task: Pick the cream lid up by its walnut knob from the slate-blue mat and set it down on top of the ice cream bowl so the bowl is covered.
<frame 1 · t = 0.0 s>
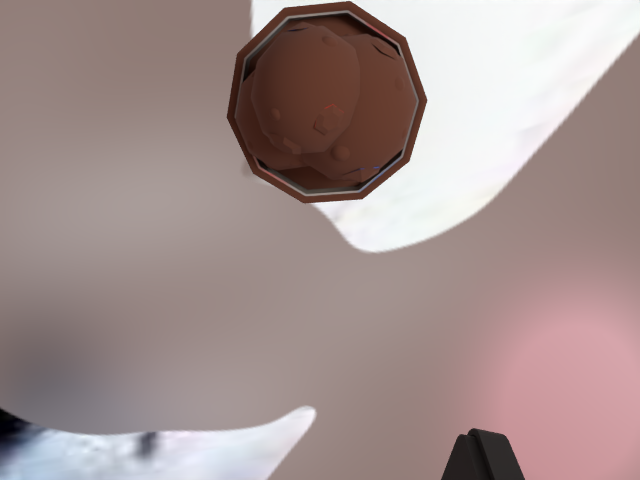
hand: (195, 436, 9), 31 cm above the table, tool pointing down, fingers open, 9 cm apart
ice cream bowl: (330, 96, 37), on the table
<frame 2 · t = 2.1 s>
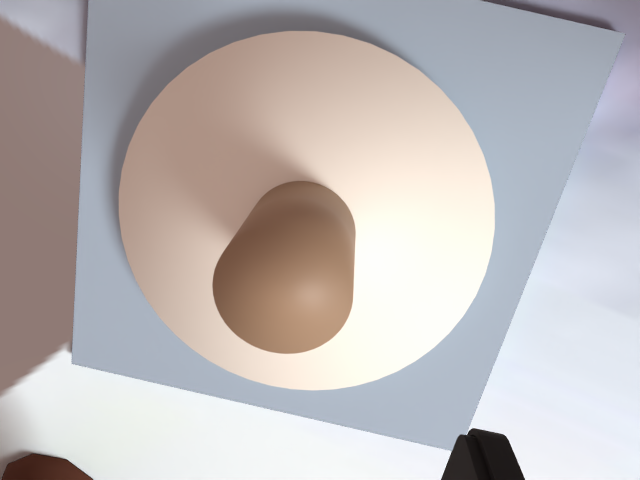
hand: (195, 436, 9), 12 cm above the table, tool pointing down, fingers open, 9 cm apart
lid: (304, 224, 20), resting on mat
mat: (306, 220, 20), on the table
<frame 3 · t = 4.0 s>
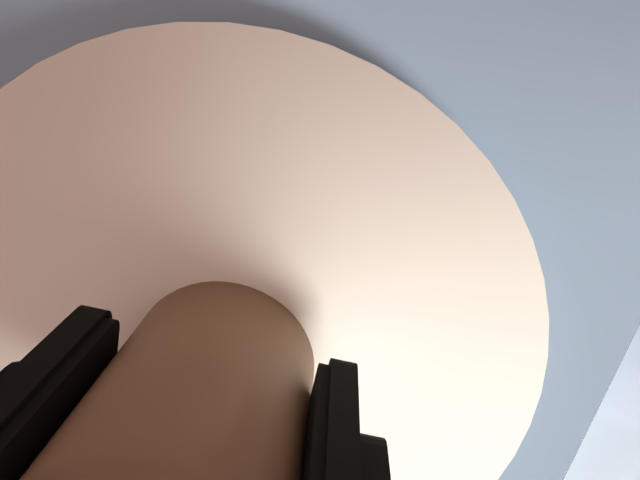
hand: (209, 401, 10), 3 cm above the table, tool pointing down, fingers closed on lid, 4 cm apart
lid: (233, 340, 12), resting on mat, touching gripper
mat: (237, 329, 13), on the table
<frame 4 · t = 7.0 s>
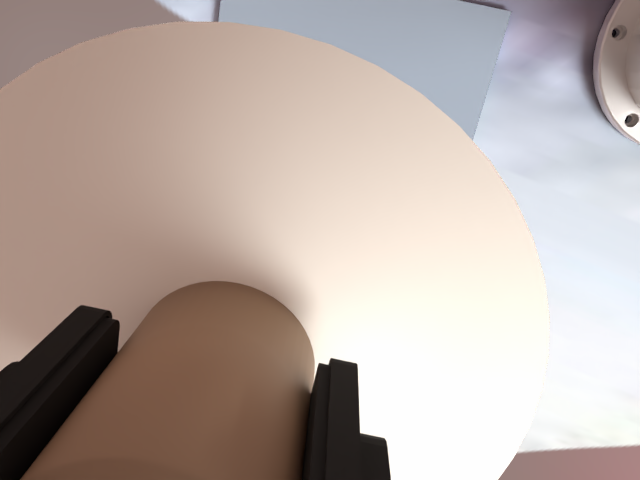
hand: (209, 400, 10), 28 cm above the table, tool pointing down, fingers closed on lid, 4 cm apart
lid: (234, 339, 12), point 25 cm above the table, touching gripper
mat: (339, 125, 35), on the table
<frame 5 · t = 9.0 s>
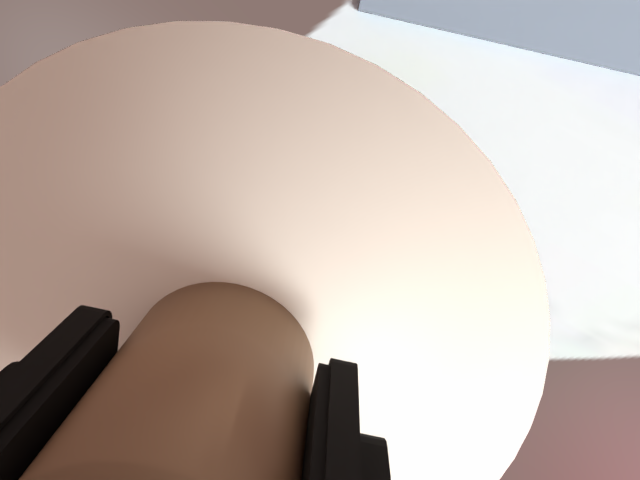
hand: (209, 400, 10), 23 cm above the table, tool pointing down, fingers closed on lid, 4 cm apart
lid: (233, 340, 12), point 20 cm above the table, touching gripper
when the fingers open (19 cm above the table, at t = 10.4 s): lid drops 1 cm, resting on ice cream bowl.
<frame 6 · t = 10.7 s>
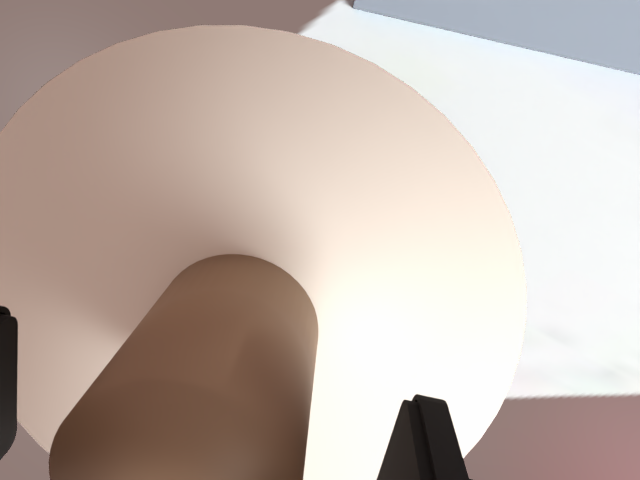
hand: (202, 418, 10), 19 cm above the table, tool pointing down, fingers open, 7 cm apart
lid: (245, 310, 14), point 15 cm above the table, touching ice cream bowl
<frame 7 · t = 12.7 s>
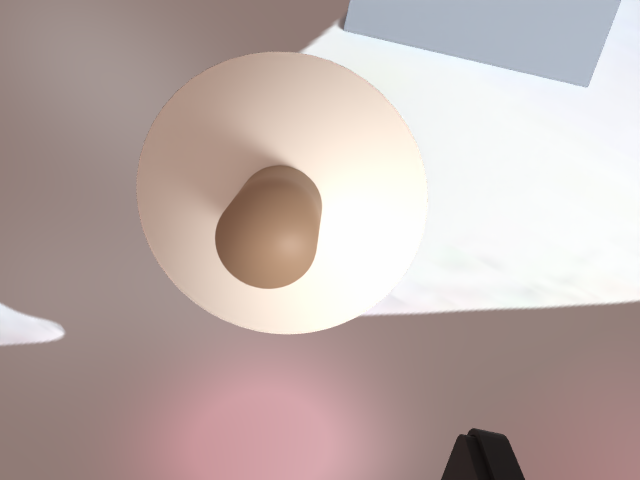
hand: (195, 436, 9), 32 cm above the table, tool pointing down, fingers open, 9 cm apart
lid: (282, 200, 26), point 15 cm above the table, touching ice cream bowl
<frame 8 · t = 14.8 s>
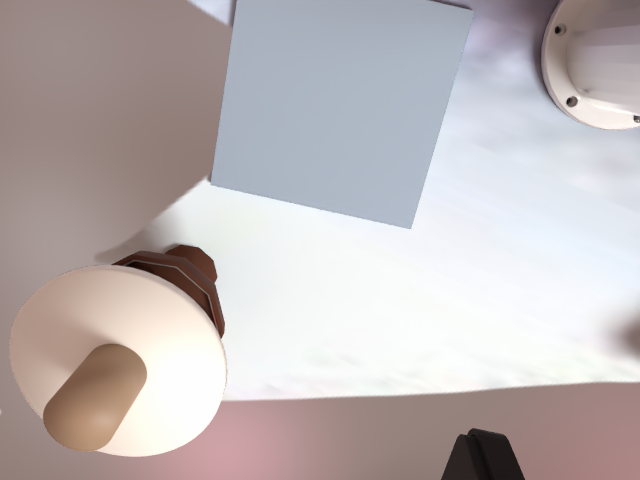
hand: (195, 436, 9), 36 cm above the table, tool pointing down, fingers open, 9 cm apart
ice cream bowl: (188, 271, 48), on the table, touching lid
lid: (122, 361, 34), point 15 cm above the table, touching ice cream bowl
mat: (333, 103, 42), on the table
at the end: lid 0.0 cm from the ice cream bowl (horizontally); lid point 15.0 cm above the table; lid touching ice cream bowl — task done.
